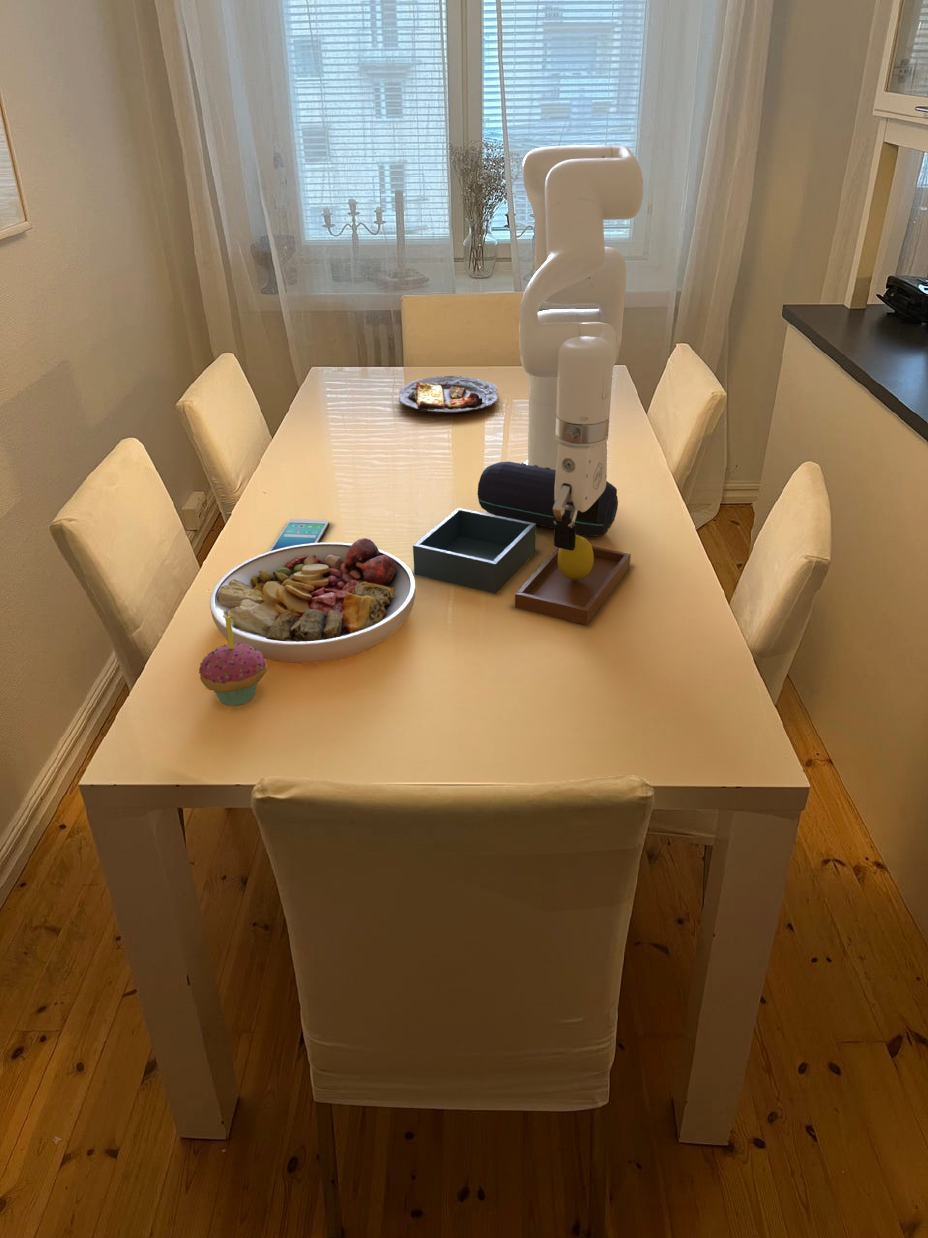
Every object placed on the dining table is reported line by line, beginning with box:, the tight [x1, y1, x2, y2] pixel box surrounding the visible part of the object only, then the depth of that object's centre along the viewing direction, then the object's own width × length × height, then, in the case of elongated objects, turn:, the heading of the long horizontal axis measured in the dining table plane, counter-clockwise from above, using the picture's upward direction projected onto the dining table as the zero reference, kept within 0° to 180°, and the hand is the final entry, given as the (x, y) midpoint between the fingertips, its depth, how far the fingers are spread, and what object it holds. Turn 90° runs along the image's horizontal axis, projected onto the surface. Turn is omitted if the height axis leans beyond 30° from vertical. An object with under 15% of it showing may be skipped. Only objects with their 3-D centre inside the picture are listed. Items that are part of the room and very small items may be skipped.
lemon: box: [558, 534, 594, 582], centre depth 143 cm, size 6×6×8 cm
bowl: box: [209, 537, 417, 664], centre depth 138 cm, size 30×30×8 cm
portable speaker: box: [476, 461, 619, 537], centre depth 162 cm, size 25×10×10 cm, turn 62°
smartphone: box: [268, 518, 330, 552], centre depth 160 cm, size 8×1×15 cm
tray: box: [514, 545, 632, 626], centre depth 145 cm, size 20×12×2 cm, turn 153°
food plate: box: [398, 375, 498, 414], centre depth 221 cm, size 25×23×4 cm
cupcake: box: [198, 610, 268, 707], centre depth 120 cm, size 9×8×12 cm
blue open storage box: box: [412, 507, 537, 595], centre depth 152 cm, size 16×15×5 cm
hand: (576, 533), depth 142 cm, fingers open, 9 cm apart
